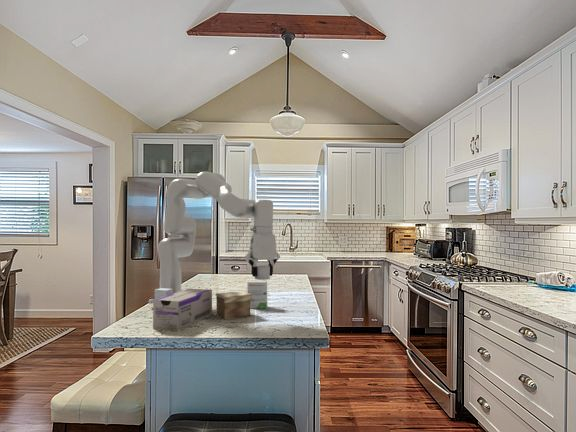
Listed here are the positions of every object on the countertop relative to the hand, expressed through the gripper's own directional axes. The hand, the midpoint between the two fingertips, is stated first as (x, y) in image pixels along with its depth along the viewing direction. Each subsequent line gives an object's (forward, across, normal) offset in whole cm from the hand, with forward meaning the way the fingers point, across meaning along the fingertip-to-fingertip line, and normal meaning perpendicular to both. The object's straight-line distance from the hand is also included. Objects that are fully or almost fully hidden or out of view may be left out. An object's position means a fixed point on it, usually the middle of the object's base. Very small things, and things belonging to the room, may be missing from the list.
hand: (262, 275), depth 152 cm
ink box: (+18, +8, +21) cm, 29 cm away
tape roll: (+1, 0, 0) cm, 1 cm away
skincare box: (+18, -34, +20) cm, 43 cm away
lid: (+11, -7, +12) cm, 18 cm away
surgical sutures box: (+18, -27, +12) cm, 35 cm away
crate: (+18, -7, +12) cm, 23 cm away
